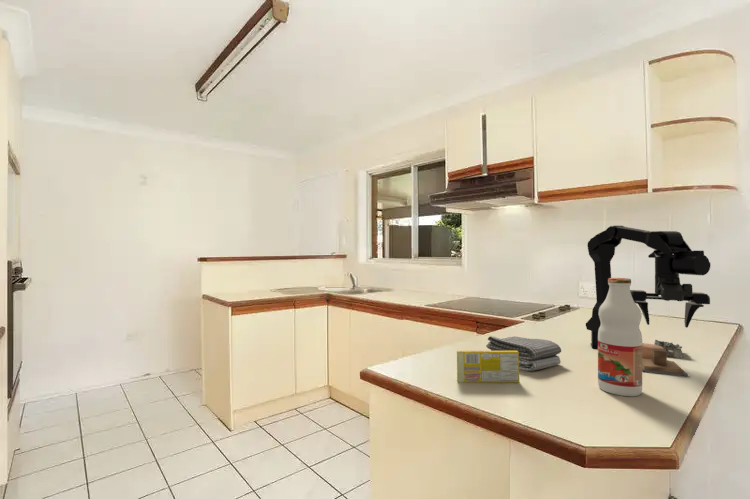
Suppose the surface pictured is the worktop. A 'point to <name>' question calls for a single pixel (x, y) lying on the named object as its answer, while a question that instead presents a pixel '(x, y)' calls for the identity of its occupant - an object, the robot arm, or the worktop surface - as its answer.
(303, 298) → the worktop surface
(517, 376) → the candy box
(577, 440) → the worktop surface
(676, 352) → the egg carton
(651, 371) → the mat
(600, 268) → the robot arm
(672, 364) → the lid
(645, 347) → the peach rounded dome
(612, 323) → the fruit juice
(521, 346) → the towel
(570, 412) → the worktop surface
